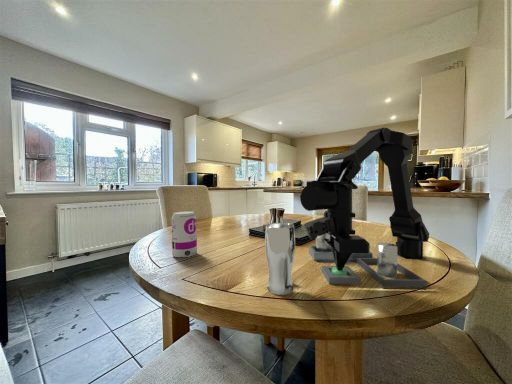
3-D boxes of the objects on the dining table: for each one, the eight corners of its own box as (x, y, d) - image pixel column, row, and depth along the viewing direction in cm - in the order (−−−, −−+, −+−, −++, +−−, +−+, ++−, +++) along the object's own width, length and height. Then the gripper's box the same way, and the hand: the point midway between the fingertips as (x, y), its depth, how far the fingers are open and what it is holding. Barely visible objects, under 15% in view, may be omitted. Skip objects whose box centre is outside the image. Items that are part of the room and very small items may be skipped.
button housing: (348, 275, 55) (348, 266, 55) (359, 288, 48) (359, 277, 48) (321, 275, 56) (321, 265, 56) (329, 288, 49) (329, 277, 49)
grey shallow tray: (359, 254, 71) (359, 244, 71) (374, 266, 61) (374, 254, 61) (308, 254, 72) (308, 244, 72) (315, 265, 62) (314, 254, 62)
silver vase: (288, 299, 44) (287, 229, 44) (259, 291, 48) (259, 226, 47) (299, 286, 50) (299, 224, 49) (273, 279, 54) (273, 221, 53)
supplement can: (201, 253, 75) (201, 211, 74) (182, 260, 68) (181, 214, 67) (186, 249, 79) (185, 210, 79) (167, 256, 72) (166, 213, 72)
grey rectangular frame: (388, 266, 61) (389, 258, 61) (426, 291, 47) (426, 280, 47) (356, 266, 61) (356, 258, 61) (384, 291, 47) (384, 280, 47)
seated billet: (327, 254, 69) (327, 230, 69) (332, 259, 65) (332, 233, 65) (314, 254, 69) (314, 230, 69) (317, 259, 65) (317, 233, 65)
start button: (343, 274, 54) (343, 267, 54) (349, 281, 50) (349, 273, 50) (329, 274, 54) (329, 267, 54) (334, 281, 50) (334, 272, 50)
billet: (390, 272, 56) (390, 242, 56) (401, 279, 52) (401, 247, 51) (373, 271, 56) (374, 242, 56) (382, 279, 52) (383, 247, 52)
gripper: (300, 204, 61) (300, 256, 62) (315, 213, 43) (315, 288, 43) (338, 204, 61) (338, 256, 61) (371, 213, 42) (370, 288, 43)
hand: (339, 269), depth 52 cm, fingers closed, pressing on start button
